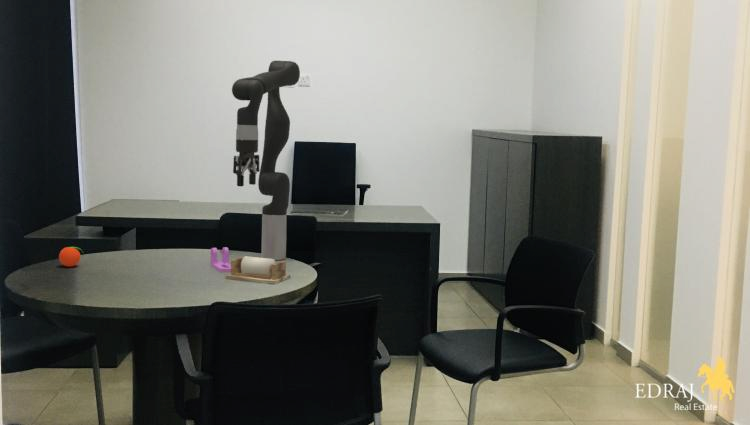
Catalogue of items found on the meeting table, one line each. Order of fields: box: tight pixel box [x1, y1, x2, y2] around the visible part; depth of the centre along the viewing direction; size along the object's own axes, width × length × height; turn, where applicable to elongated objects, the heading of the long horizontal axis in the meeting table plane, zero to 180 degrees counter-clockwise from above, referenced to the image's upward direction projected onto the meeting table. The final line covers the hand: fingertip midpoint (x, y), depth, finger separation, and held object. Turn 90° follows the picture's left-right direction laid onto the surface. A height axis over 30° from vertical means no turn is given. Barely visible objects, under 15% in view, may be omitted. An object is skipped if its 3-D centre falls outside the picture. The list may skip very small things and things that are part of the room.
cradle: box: [225, 256, 291, 285], centre depth 256 cm, size 12×18×6 cm, turn 71°
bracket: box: [210, 246, 231, 273], centre depth 270 cm, size 13×6×7 cm, turn 27°
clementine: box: [58, 246, 85, 268], centre depth 264 cm, size 8×7×7 cm
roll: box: [241, 255, 277, 277], centre depth 256 cm, size 11×6×6 cm, turn 71°
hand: (246, 185), depth 264 cm, fingers open, 8 cm apart
